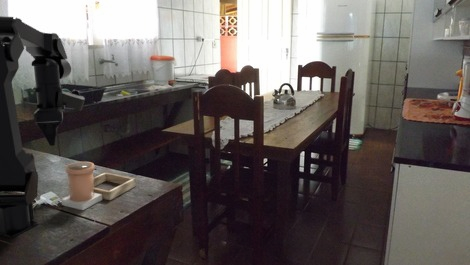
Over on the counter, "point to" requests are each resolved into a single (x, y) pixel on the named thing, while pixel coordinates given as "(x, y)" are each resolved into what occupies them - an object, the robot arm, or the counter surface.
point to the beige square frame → (123, 180)
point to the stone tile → (82, 202)
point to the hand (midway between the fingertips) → (53, 140)
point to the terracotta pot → (80, 181)
